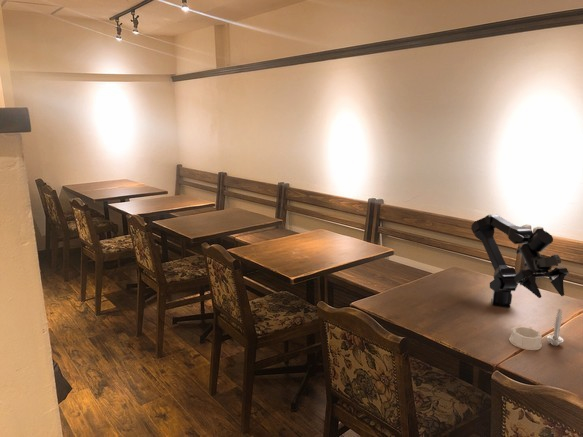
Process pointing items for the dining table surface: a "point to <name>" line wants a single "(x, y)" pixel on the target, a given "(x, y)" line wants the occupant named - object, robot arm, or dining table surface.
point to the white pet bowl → (526, 338)
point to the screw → (556, 330)
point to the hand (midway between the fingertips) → (551, 296)
